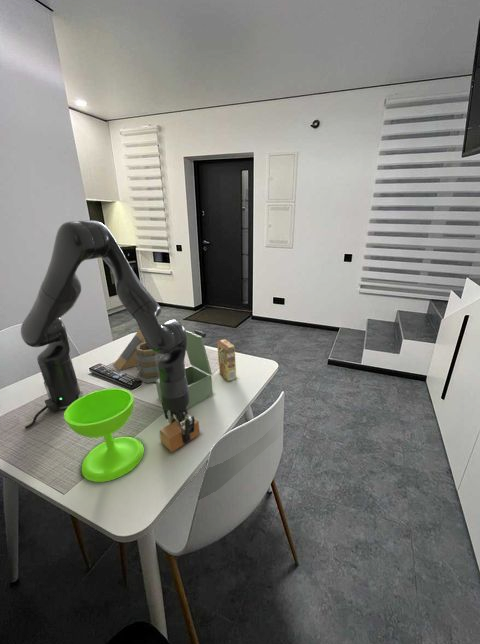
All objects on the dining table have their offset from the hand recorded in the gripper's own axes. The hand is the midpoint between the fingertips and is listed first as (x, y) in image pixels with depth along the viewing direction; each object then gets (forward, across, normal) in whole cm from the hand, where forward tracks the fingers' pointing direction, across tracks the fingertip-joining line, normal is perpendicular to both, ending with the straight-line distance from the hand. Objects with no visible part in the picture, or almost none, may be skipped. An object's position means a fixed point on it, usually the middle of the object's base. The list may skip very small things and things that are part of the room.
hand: (180, 436), depth 87 cm
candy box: (+1, -18, +35) cm, 39 cm away
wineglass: (+1, -8, -17) cm, 19 cm away
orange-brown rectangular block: (+1, 0, 0) cm, 1 cm away
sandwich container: (+1, -61, +14) cm, 63 cm away
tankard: (+1, -43, +18) cm, 47 cm away
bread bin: (+1, -18, +14) cm, 23 cm away
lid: (-16, -18, +20) cm, 31 cm away
